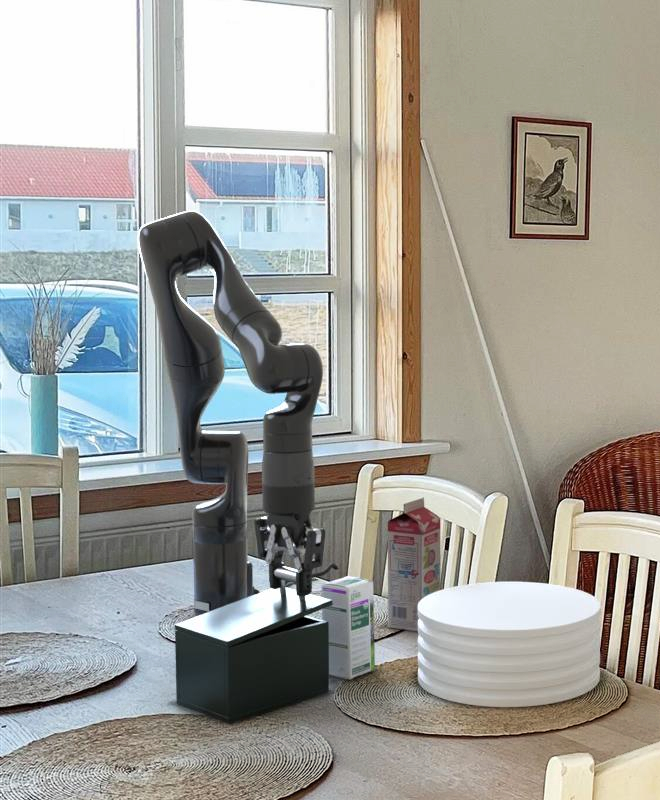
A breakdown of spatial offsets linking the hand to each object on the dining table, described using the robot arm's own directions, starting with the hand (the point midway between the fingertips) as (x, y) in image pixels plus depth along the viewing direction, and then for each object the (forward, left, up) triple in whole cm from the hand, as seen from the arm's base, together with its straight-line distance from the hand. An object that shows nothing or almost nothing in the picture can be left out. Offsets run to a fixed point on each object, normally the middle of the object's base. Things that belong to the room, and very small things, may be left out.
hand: (290, 591), depth 201 cm
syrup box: (-10, +1, -15) cm, 18 cm away
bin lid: (+6, 0, -3) cm, 7 cm away
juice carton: (-35, -11, -15) cm, 40 cm away
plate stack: (-25, +21, -15) cm, 36 cm away
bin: (+7, 0, -15) cm, 16 cm away
